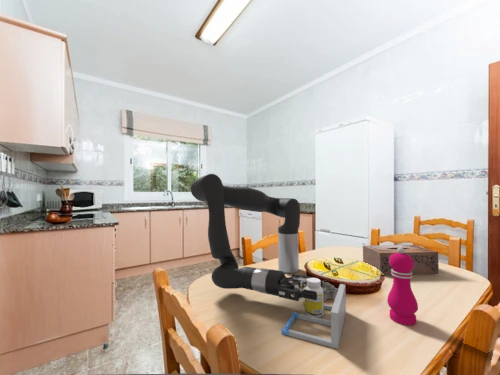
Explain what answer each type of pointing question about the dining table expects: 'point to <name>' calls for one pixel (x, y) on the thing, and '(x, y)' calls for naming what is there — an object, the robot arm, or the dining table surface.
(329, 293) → the egg carton
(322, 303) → the supplement bottle
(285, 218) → the robot arm
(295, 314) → the grey panel rail frame
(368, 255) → the tissue box cover
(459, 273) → the dining table surface
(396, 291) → the pepper mill
